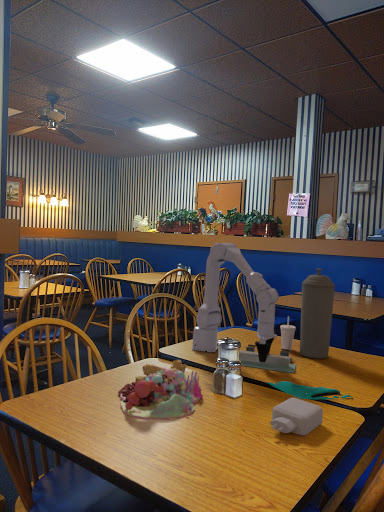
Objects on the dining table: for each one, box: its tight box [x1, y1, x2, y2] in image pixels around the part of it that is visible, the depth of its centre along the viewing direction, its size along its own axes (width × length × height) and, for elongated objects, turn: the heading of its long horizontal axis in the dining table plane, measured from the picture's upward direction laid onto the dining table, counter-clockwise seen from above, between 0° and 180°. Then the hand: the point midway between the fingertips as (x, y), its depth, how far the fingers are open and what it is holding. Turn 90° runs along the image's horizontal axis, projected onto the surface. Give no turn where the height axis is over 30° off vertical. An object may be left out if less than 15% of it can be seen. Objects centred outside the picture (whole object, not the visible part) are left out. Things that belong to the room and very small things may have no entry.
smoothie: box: [279, 315, 297, 352], centre depth 170 cm, size 6×6×14 cm
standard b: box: [279, 348, 293, 364], centre depth 155 cm, size 5×6×4 cm
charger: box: [269, 397, 324, 437], centre depth 99 cm, size 5×9×15 cm
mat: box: [241, 362, 296, 374], centre depth 147 cm, size 22×9×1 cm, turn 72°
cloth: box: [266, 380, 352, 400], centre depth 123 cm, size 26×14×2 cm, turn 56°
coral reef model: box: [117, 359, 204, 421], centre depth 112 cm, size 25×24×9 cm
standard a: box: [245, 344, 257, 352], centre depth 159 cm, size 5×6×4 cm
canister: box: [299, 268, 336, 360], centre depth 162 cm, size 13×13×35 cm
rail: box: [238, 349, 291, 369], centre depth 147 cm, size 18×3×4 cm, turn 72°
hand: (263, 359), depth 147 cm, fingers open, 7 cm apart
